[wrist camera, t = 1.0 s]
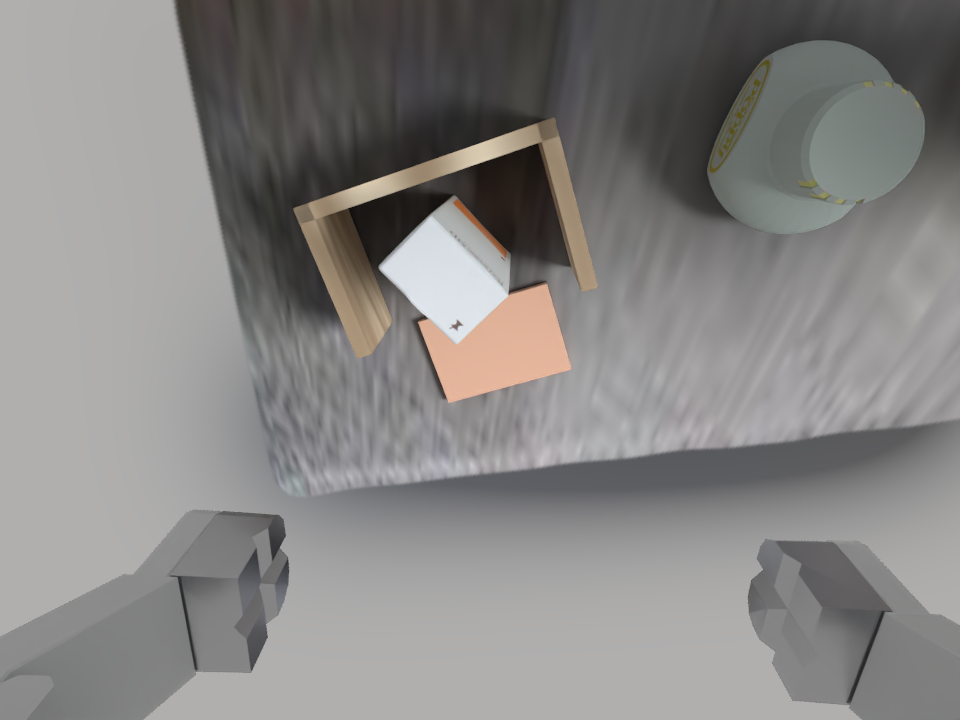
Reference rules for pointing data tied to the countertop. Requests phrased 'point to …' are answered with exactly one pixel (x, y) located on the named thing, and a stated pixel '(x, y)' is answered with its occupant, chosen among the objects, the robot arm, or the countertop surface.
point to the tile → (501, 346)
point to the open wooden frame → (332, 220)
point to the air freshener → (814, 138)
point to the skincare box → (451, 269)
